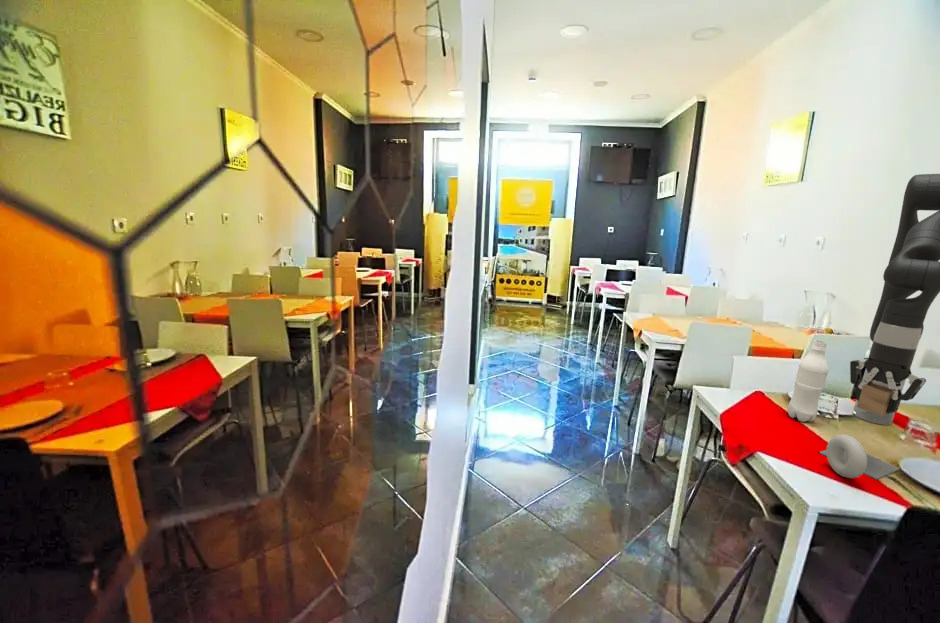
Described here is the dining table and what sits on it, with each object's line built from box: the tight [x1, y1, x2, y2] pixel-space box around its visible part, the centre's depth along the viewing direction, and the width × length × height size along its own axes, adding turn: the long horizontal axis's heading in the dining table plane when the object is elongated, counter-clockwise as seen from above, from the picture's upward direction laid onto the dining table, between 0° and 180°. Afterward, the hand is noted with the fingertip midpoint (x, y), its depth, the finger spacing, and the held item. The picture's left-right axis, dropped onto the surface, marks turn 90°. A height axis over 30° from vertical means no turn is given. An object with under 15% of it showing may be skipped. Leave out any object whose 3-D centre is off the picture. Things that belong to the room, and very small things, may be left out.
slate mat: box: [819, 449, 901, 480], centre depth 109 cm, size 12×12×1 cm
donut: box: [826, 434, 867, 479], centre depth 101 cm, size 10×4×10 cm, turn 174°
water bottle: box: [787, 339, 830, 423], centre depth 129 cm, size 7×7×25 cm
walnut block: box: [857, 383, 892, 416], centre depth 105 cm, size 5×5×6 cm
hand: (874, 407), depth 105 cm, fingers closed on walnut block, 5 cm apart
